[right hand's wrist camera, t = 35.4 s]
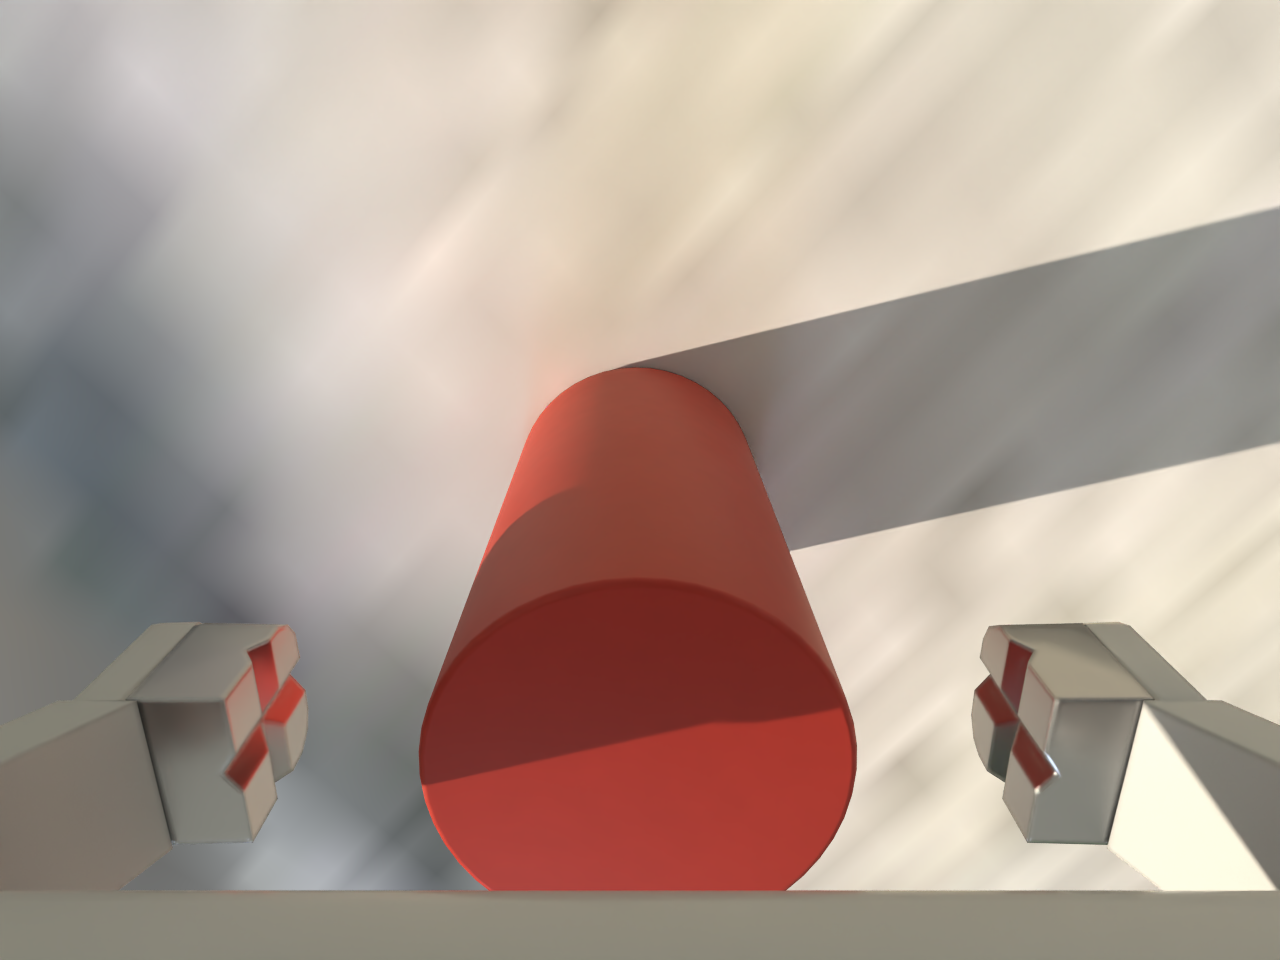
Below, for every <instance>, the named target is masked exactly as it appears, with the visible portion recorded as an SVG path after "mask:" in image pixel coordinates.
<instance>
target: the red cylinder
mask: <svg viewBox="0 0 1280 960" xmlns="http://www.w3.org/2000/svg"><path fill="white" fill-rule="evenodd" d="M419 769H420V779H421V783H422V788H423V793H424V798H425V801H426V804H427V807H428V810H429V812H430V815H431V818H432V820H433V823H434V825H435V827H436V829H437V830H438V832H439V834H440V836H441V838H442V839H443V841H444V843H445V845H446V846H447V847H448V849H449V850H450V851H451V853H452V854H453V855H454V857H455V858H456V859H457V861H458V862H459V863H460V864H461V865H462V866H463V867H464V868H465V869H466V870H467V871H468V872H469V873H470V874H471V875H472V876H473V877H474V878H475V879H476V880H477V881H478V882H479V883H480V884H482V885H483V886H484V887H485V888H487V889H488V890H489V891H786V890H787V889H788V888H789V887H791V886H792V885H793V884H794V883H795V882H796V881H798V880H799V879H800V878H801V877H802V876H804V874H805V873H806V872H807V871H808V870H809V869H810V868H811V867H812V866H813V865H814V864H815V863H816V862H817V860H818V859H819V858H820V857H821V856H822V854H823V853H824V851H825V850H826V848H827V847H828V846H829V844H830V843H831V841H832V840H833V839H834V837H835V835H836V833H837V831H838V829H839V827H840V825H841V823H842V821H843V819H844V817H845V814H846V811H847V808H848V805H849V802H850V799H851V796H852V793H853V787H854V781H855V776H856V770H857V742H856V736H855V729H854V722H853V719H852V716H851V713H850V709H849V706H848V703H847V700H846V697H845V695H844V692H843V689H842V687H841V684H840V682H839V679H838V676H837V674H836V671H835V669H834V666H833V663H832V661H831V658H830V656H829V653H828V650H827V648H826V645H825V643H824V640H823V638H822V635H821V632H820V630H819V627H818V625H817V622H816V619H815V617H814V614H813V612H812V609H811V606H810V604H809V601H808V599H807V596H806V594H805V591H804V588H803V586H802V583H801V581H800V578H799V575H798V573H797V570H796V568H795V565H794V562H793V560H792V557H791V555H790V552H789V549H788V547H787V544H786V542H785V539H784V537H783V534H782V531H781V529H780V526H779V524H778V521H777V518H776V516H775V513H774V511H773V508H772V505H771V503H770V500H769V498H768V495H767V492H766V490H765V487H764V485H763V482H762V480H761V477H760V474H759V472H758V469H757V467H756V464H755V461H754V459H753V456H752V454H751V451H750V448H749V446H748V443H747V441H746V438H745V436H744V434H743V432H742V430H741V428H740V426H739V424H738V422H737V421H736V419H735V418H734V417H733V415H732V414H731V412H730V411H729V410H728V409H727V408H726V407H725V405H724V404H723V403H722V402H721V401H720V400H719V399H718V398H716V397H715V396H714V395H713V394H712V393H711V392H709V391H708V390H706V389H705V388H703V387H702V386H700V385H699V384H697V383H696V382H693V381H691V380H689V379H687V378H685V377H683V376H680V375H677V374H674V373H671V372H668V371H663V370H657V369H652V368H622V369H615V370H610V371H606V372H602V373H599V374H596V375H593V376H590V377H588V378H586V379H584V380H582V381H580V382H578V383H576V384H574V385H573V386H571V387H570V388H568V389H567V390H565V391H564V392H562V393H561V394H560V395H559V396H558V397H557V398H555V399H554V400H553V401H552V402H551V403H550V404H549V405H548V406H547V408H546V409H545V410H544V411H543V412H542V413H541V415H540V416H539V418H538V419H537V421H536V422H535V424H534V426H533V427H532V429H531V432H530V434H529V436H528V438H527V440H526V443H525V446H524V448H523V451H522V454H521V456H520V459H519V462H518V464H517V467H516V470H515V473H514V475H513V478H512V481H511V483H510V486H509V489H508V491H507V494H506V497H505V499H504V502H503V505H502V507H501V510H500V513H499V515H498V518H497V521H496V524H495V526H494V529H493V532H492V534H491V537H490V540H489V542H488V545H487V548H486V550H485V553H484V556H483V558H482V561H481V564H480V566H479V569H478V572H477V575H476V577H475V580H474V583H473V585H472V588H471V591H470V593H469V596H468V599H467V601H466V604H465V607H464V609H463V612H462V615H461V617H460V620H459V623H458V626H457V628H456V631H455V634H454V636H453V639H452V642H451V644H450V647H449V650H448V652H447V655H446V658H445V660H444V663H443V666H442V668H441V671H440V674H439V677H438V679H437V682H436V685H435V687H434V690H433V693H432V695H431V698H430V701H429V703H428V707H427V710H426V714H425V717H424V721H423V724H422V728H421V736H420V745H419Z"/></svg>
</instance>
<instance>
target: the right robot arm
mask: <svg viewBox="0 0 1280 960" xmlns="http://www.w3.org/2000/svg"><path fill="white" fill-rule="evenodd" d="M299 659H300V654H299V649H298V644H297V639H296V634H295V632H294V631H293V630H292V629H291V628H290V627H289V626H288V625H287V624H238V623H203V624H202V623H200V622H180V623H159V624H152V625H151V626H150V627H149V628H147V629H146V630H145V631H144V632H143V633H142V634H141V635H140V636H139V637H138V638H137V639H136V640H135V641H134V642H133V643H132V644H131V645H130V646H129V647H128V648H127V649H126V650H125V651H124V652H123V653H122V654H120V655H119V656H118V657H117V658H116V659H115V660H114V661H113V662H112V663H111V664H110V665H109V666H108V667H107V668H106V669H105V670H104V671H103V672H102V673H101V674H100V675H99V676H98V677H97V678H96V679H94V680H93V681H92V682H91V683H90V684H89V685H88V686H87V687H86V688H85V689H84V690H83V691H82V692H81V693H80V694H79V695H78V696H77V697H76V698H75V699H74V700H66V701H56V702H54V703H51V704H49V705H47V706H44V707H42V708H40V709H37V710H35V711H33V712H30V713H28V714H26V715H23V716H21V717H19V718H16V719H14V720H12V721H9V722H7V723H5V724H2V725H0V960H1280V725H1278V724H1275V723H1273V722H1271V721H1268V720H1266V719H1264V718H1261V717H1259V716H1257V715H1254V714H1252V713H1250V712H1247V711H1245V710H1243V709H1240V708H1238V707H1236V706H1233V705H1231V704H1229V703H1226V702H1224V701H1214V700H1206V699H1205V698H1204V697H1203V696H1202V695H1201V694H1200V693H1199V692H1198V691H1197V690H1196V689H1195V688H1194V687H1193V686H1192V685H1191V684H1190V683H1189V682H1188V681H1187V680H1186V679H1185V678H1184V677H1183V676H1181V675H1180V674H1179V673H1178V672H1177V671H1176V670H1175V669H1174V668H1173V667H1172V666H1171V665H1170V664H1169V663H1168V662H1167V661H1166V660H1165V659H1164V658H1163V657H1162V656H1161V655H1160V654H1159V653H1158V652H1157V651H1156V650H1155V649H1154V648H1152V647H1151V646H1150V645H1149V644H1148V643H1147V642H1146V641H1145V640H1144V639H1143V638H1142V637H1141V636H1140V635H1139V634H1138V633H1137V632H1136V631H1135V630H1134V629H1133V628H1132V627H1131V626H1129V625H1126V624H1123V623H1120V622H1102V623H1065V624H1025V625H996V626H989V627H988V629H987V632H986V634H985V636H984V638H983V642H982V648H981V654H980V659H981V660H982V662H983V663H984V665H985V666H986V668H987V670H988V671H989V673H990V675H989V676H988V677H987V678H986V679H985V680H984V681H983V682H982V683H981V684H980V685H979V686H978V687H977V688H976V689H975V690H974V698H973V706H972V714H971V717H972V728H973V738H974V742H975V745H976V748H977V751H978V755H979V757H980V759H981V761H982V762H983V764H984V766H985V768H986V770H987V771H988V772H989V773H991V774H993V775H994V776H996V777H997V778H999V779H1000V780H1002V781H1003V782H1005V787H1004V792H1003V798H1002V799H1003V801H1004V802H1005V804H1006V806H1007V808H1008V809H1009V811H1010V813H1011V815H1012V816H1013V818H1014V820H1015V822H1016V824H1017V825H1018V827H1019V829H1020V831H1021V832H1022V834H1023V836H1024V838H1025V839H1026V841H1027V843H1060V844H1096V845H1108V846H1107V849H1109V850H1110V851H1111V852H1112V853H1114V854H1115V855H1116V856H1118V857H1119V858H1120V859H1122V860H1123V861H1124V862H1125V863H1127V864H1128V865H1129V866H1131V867H1132V868H1133V869H1135V870H1136V871H1137V872H1138V873H1140V874H1141V875H1142V876H1144V877H1145V878H1146V879H1148V880H1149V881H1150V882H1151V883H1153V884H1154V885H1155V886H1157V887H1158V888H1159V889H1161V890H1162V891H266V890H120V889H121V888H122V887H124V886H125V885H126V884H128V883H129V882H130V881H131V880H133V879H134V878H135V877H137V876H138V875H139V874H140V873H142V872H143V871H144V870H146V869H147V868H148V867H150V866H151V865H152V864H154V863H155V862H156V861H157V860H159V859H160V858H161V857H163V856H164V855H165V854H167V853H168V852H169V851H170V850H172V848H173V847H172V845H183V844H219V843H253V841H254V840H255V838H256V836H257V834H258V832H259V831H260V829H261V827H262V825H263V824H264V822H265V820H266V818H267V817H268V815H269V813H270V811H271V809H272V808H273V806H274V804H275V802H276V801H277V799H278V798H277V792H276V786H275V782H277V781H278V780H280V779H281V778H283V777H284V776H286V775H287V774H289V773H291V772H292V771H293V770H294V768H295V766H296V764H297V762H298V760H299V759H300V757H301V755H302V753H303V748H304V744H305V740H306V735H307V731H308V703H307V697H306V690H305V689H304V688H303V687H302V686H301V685H300V684H299V683H298V682H297V681H296V680H295V679H294V678H293V677H292V676H291V675H290V673H291V671H292V670H293V668H294V666H295V665H296V663H297V662H298V660H299Z"/></svg>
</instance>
